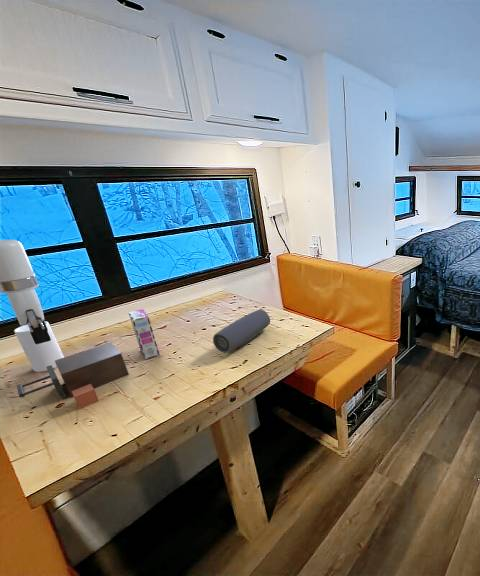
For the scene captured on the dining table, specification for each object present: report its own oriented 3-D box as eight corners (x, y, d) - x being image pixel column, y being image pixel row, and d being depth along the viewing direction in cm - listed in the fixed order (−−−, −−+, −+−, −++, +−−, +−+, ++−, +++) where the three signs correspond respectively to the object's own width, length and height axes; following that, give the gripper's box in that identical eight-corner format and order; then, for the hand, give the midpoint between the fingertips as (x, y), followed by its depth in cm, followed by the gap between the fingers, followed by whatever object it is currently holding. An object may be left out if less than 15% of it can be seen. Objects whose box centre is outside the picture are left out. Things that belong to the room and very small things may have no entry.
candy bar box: (161, 355, 117) (148, 316, 112) (145, 360, 114) (131, 321, 108) (155, 344, 125) (143, 308, 119) (140, 349, 121) (127, 312, 116)
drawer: (26, 411, 88) (15, 392, 86) (22, 395, 95) (12, 377, 93) (115, 376, 103) (109, 359, 101) (107, 364, 110) (100, 348, 108)
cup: (49, 371, 108) (30, 331, 103) (26, 372, 108) (6, 332, 103) (71, 358, 116) (55, 321, 111) (50, 359, 116) (32, 321, 111)
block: (79, 409, 90) (74, 397, 89) (76, 402, 93) (71, 391, 91) (99, 400, 93) (94, 389, 92) (95, 395, 96) (90, 383, 94)
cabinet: (71, 397, 95) (60, 374, 92) (64, 382, 102) (54, 360, 99) (128, 374, 106) (121, 353, 103) (118, 362, 113) (111, 342, 110)
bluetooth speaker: (256, 327, 137) (252, 307, 134) (273, 330, 134) (269, 309, 131) (214, 353, 117) (208, 330, 114) (233, 357, 114) (228, 334, 111)
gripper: (-2, 281, 89) (22, 333, 95) (-3, 294, 78) (25, 351, 84) (35, 275, 94) (56, 324, 100) (39, 286, 84) (62, 341, 90)
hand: (42, 337), depth 92 cm, fingers open, 9 cm apart
